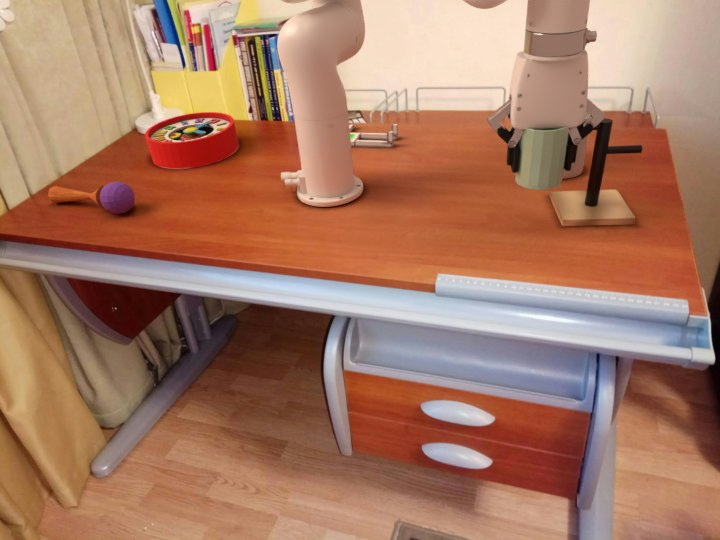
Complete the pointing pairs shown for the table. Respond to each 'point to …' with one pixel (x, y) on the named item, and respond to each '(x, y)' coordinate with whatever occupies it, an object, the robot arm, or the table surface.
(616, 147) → the mug holder
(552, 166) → the small mug
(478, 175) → the table surface
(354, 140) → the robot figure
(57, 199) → the purple maraca
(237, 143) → the toy clock
